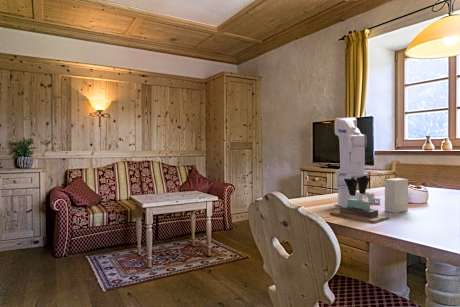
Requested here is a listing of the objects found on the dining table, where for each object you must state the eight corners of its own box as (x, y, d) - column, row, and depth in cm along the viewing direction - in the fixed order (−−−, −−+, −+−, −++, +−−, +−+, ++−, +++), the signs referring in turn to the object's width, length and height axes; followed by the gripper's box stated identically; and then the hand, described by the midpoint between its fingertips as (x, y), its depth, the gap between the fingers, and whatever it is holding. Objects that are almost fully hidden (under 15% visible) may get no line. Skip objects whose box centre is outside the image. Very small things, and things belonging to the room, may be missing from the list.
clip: (350, 212, 137) (350, 198, 137) (370, 215, 130) (370, 201, 130) (347, 212, 136) (347, 199, 135) (366, 216, 128) (366, 202, 128)
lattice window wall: (380, 204, 159) (380, 192, 158) (379, 204, 157) (379, 193, 157) (356, 201, 166) (356, 190, 166) (355, 202, 165) (355, 191, 165)
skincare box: (397, 208, 147) (397, 177, 146) (408, 211, 141) (408, 178, 141) (383, 210, 144) (383, 178, 143) (394, 213, 138) (394, 179, 138)
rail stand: (345, 210, 144) (345, 203, 144) (388, 218, 128) (388, 210, 128) (329, 214, 137) (329, 206, 137) (373, 223, 121) (373, 214, 121)
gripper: (356, 164, 125) (356, 197, 125) (375, 162, 134) (375, 193, 134) (341, 163, 130) (341, 195, 131) (359, 161, 139) (359, 191, 140)
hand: (357, 194), depth 133 cm, fingers open, 7 cm apart
